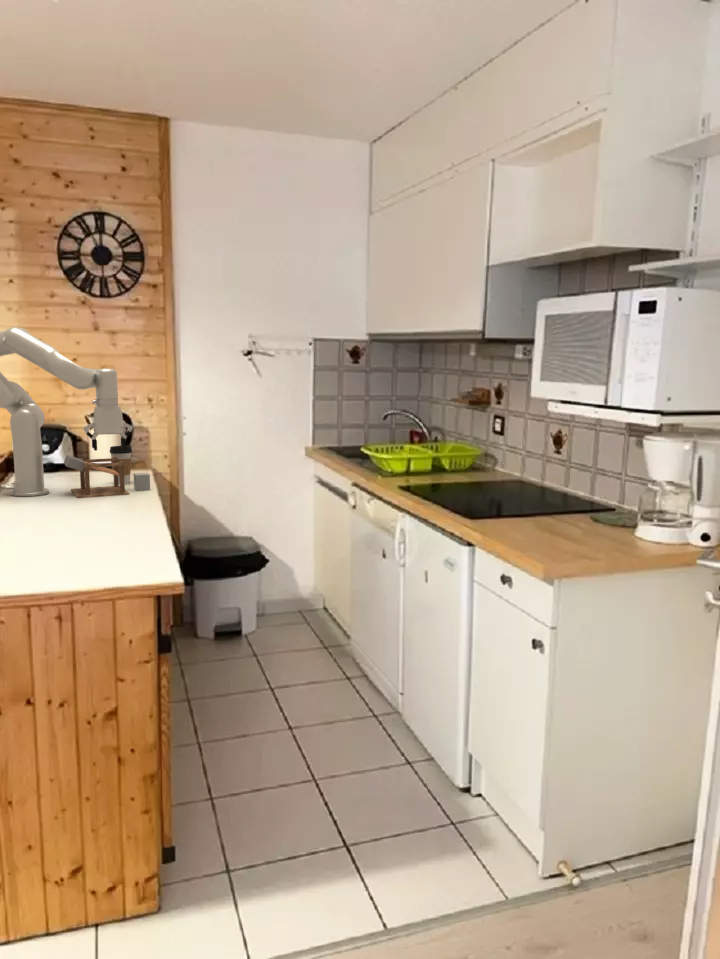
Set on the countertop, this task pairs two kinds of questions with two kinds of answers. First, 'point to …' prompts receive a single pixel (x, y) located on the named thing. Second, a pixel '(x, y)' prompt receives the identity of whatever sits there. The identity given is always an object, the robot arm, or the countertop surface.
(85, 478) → the frame
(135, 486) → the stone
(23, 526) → the countertop surface
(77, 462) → the trapdoor
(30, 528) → the countertop surface
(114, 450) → the coffee cup
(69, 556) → the countertop surface
